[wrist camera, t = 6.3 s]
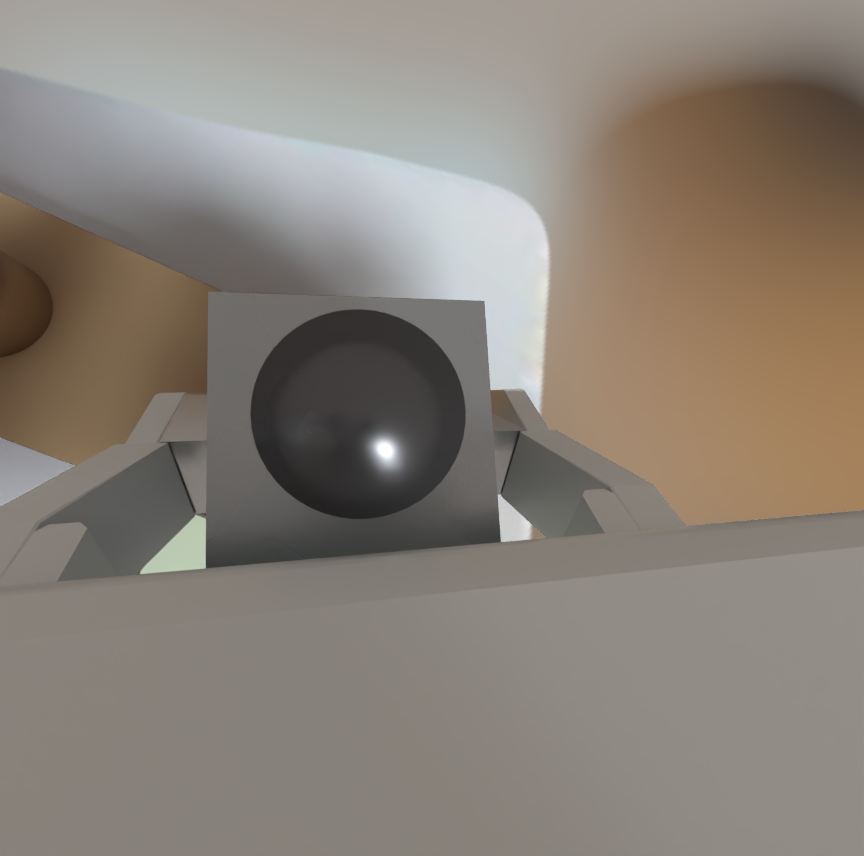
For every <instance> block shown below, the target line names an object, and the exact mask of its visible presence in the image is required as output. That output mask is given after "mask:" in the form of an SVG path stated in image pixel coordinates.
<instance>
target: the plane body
mask: <svg viewBox="0 0 864 856" xmlns="http://www.w3.org/2000/svg"><path fill="white" fill-rule="evenodd" d="M208 292H222V291H220V290H218V289H216V288H213V287H211V286H209V285H207V284H204V283H202V282H200V281H198V280H196V279H193V278H191V277H189V276H187V275H184V274H182V273H180V272H178V271H175V270H173V269H171V268H169V267H167V266H164V265H162V264H160V263H158V262H155V261H153V260H151V259H149V258H146V257H144V256H142V255H140V254H138V253H135V252H133V251H131V250H129V249H126V248H124V247H122V246H120V245H117V244H115V243H113V242H111V241H109V240H106V239H104V238H102V237H100V236H97V235H95V234H93V233H91V232H88V231H86V230H84V229H82V228H80V227H77V226H75V225H73V224H71V223H68V222H66V221H64V220H62V219H59V218H57V217H55V216H53V215H51V214H48V213H46V212H44V211H42V210H39V209H37V208H35V207H33V206H30V205H28V204H26V203H24V202H22V201H19V200H17V199H15V198H13V197H10V196H8V195H6V194H4V193H1V192H0V438H3V439H6V440H8V441H11V442H14V443H17V444H19V445H22V446H25V447H27V448H30V449H33V450H35V451H38V452H41V453H43V454H46V455H49V456H51V457H54V458H57V459H59V460H62V461H65V462H68V463H70V464H73V465H78V464H80V463H82V462H84V461H86V460H87V459H89V458H91V457H93V456H95V455H97V454H98V453H100V452H102V451H104V450H106V449H108V448H109V447H111V446H113V445H115V444H125V442H126V441H127V439H128V438H129V436H130V434H131V433H132V431H133V430H134V428H135V426H136V425H137V423H138V421H139V420H140V418H141V417H142V415H143V413H144V412H145V410H146V409H147V407H148V405H149V404H150V402H151V401H152V399H153V397H154V396H155V395H156V394H159V393H180V392H185V393H207V363H208ZM204 514H206V513H204Z"/></svg>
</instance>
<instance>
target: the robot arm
mask: <svg viewBox="0 0 864 856" xmlns="http://www.w3.org/2000/svg"><path fill="white" fill-rule="evenodd" d="M490 393H491V407H492V422H493V437H494V451H495V466H496V481H497V494H502V495H501V496H502V497H503V498H504V499H505V500H506V501H507V502H508V503H509V504H510V505H512V506H513V507H514V508H515V509H516V510H517V511H518V512H519V513H520V514H521V515H522V516H524V517H525V518H526V519H527V520H528V521H529V522H530V523H531V524H532V525H533V526H534V527H535V528H537V529H538V530H539V531H540V532H541V533H542V534H543V535H544V536H545V537H546V538H545V539H533V540H521V541H510V542H498V543H486V544H475V545H463V546H452V547H440V548H428V549H417V550H406V551H395V552H383V553H372V554H361V555H350V556H338V557H327V558H316V559H305V560H293V561H282V562H271V563H260V564H248V565H237V566H226V567H214V568H203V569H192V570H180V571H169V572H158V573H146V574H137V573H138V572H139V571H140V570H141V569H142V568H143V567H144V566H145V565H146V564H147V563H148V562H149V561H150V560H151V559H152V558H153V557H154V556H155V555H156V554H157V553H158V552H160V551H161V550H162V549H163V548H164V547H165V546H166V545H167V544H168V543H169V542H170V541H171V540H172V539H173V538H174V537H175V536H176V535H177V534H178V533H179V532H180V531H181V530H182V529H183V528H184V527H185V526H186V525H187V524H188V523H189V522H190V521H191V520H192V519H193V518H194V517H195V514H199V513H206V467H207V393H185V392H180V393H159V394H156V395H155V396H154V397H153V399H152V401H151V402H150V404H149V405H148V407H147V409H146V410H145V412H144V413H143V415H142V417H141V418H140V420H139V421H138V423H137V425H136V426H135V428H134V430H133V431H132V433H131V434H130V436H129V438H128V439H127V441H126V442H125V444H115V445H113V446H111V447H109V448H108V449H106V450H104V451H102V452H100V453H98V454H97V455H95V456H93V457H91V458H89V459H87V460H86V461H84V462H82V463H80V464H78V465H76V466H75V467H73V468H71V469H69V470H67V471H65V472H64V473H62V474H60V475H58V476H56V477H54V478H53V479H51V480H49V481H47V482H45V483H44V484H42V485H40V486H38V487H36V488H34V489H33V490H31V491H29V492H27V493H25V494H23V495H22V496H20V497H18V498H16V499H14V500H12V501H11V502H9V503H7V504H5V505H3V506H1V507H0V856H864V510H861V511H849V512H838V513H826V514H815V515H804V516H792V517H781V518H771V519H770V518H769V519H758V520H747V521H735V522H725V523H713V524H703V525H691V526H686V525H685V524H684V522H683V521H682V520H681V518H680V517H679V516H678V515H677V514H676V512H675V511H674V510H673V509H672V507H671V506H670V505H669V504H668V503H667V501H666V500H665V499H664V497H663V496H662V495H661V494H660V493H659V491H658V490H657V489H656V487H655V486H654V485H653V484H651V483H650V482H648V481H646V480H644V479H642V478H641V477H639V476H637V475H635V474H633V473H631V472H630V471H628V470H626V469H625V468H623V467H621V466H619V465H617V464H616V463H614V462H612V461H610V460H608V459H607V458H605V457H603V456H601V455H600V454H598V453H596V452H594V451H592V450H591V449H589V448H587V447H585V446H583V445H582V444H580V443H578V442H576V441H574V440H573V439H571V438H569V437H567V436H566V435H564V434H562V433H560V432H559V431H557V430H549V428H548V426H547V425H546V423H545V422H544V420H543V419H542V417H541V416H540V414H539V413H538V411H537V409H536V408H535V406H534V405H533V403H532V402H531V400H530V399H529V397H528V395H527V394H526V392H525V391H524V390H522V389H506V390H490Z"/></svg>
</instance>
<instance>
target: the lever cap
mask: <svg viewBox="0 0 864 856" xmlns="http://www.w3.org/2000/svg"><path fill="white" fill-rule="evenodd" d="M498 542H501V540H500V525H499V510H498V496H497V481H496V466H495V451H494V437H493V422H492V407H491V393H490V378H489V363H488V348H487V334H486V319H485V304H484V301H469V300H439V299H410V298H381V297H352V296H323V295H294V294H265V293H236V292H208V363H207V467H206V568H214V567H226V566H237V565H248V564H260V563H271V562H282V561H293V560H305V559H316V558H327V557H338V556H350V555H361V554H372V553H383V552H395V551H406V550H417V549H428V548H440V547H452V546H463V545H475V544H486V543H498Z"/></svg>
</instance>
